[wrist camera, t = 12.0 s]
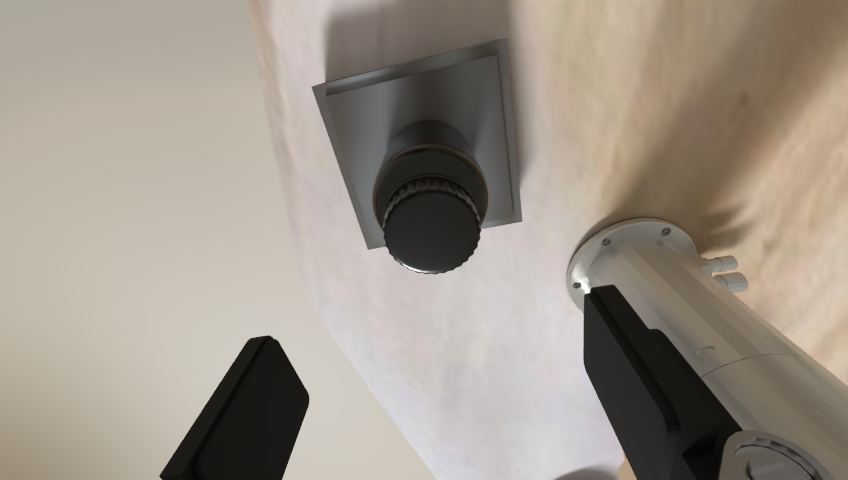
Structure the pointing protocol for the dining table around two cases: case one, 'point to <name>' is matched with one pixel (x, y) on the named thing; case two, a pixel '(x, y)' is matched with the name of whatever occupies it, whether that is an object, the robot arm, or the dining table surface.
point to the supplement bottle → (430, 198)
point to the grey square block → (426, 100)
